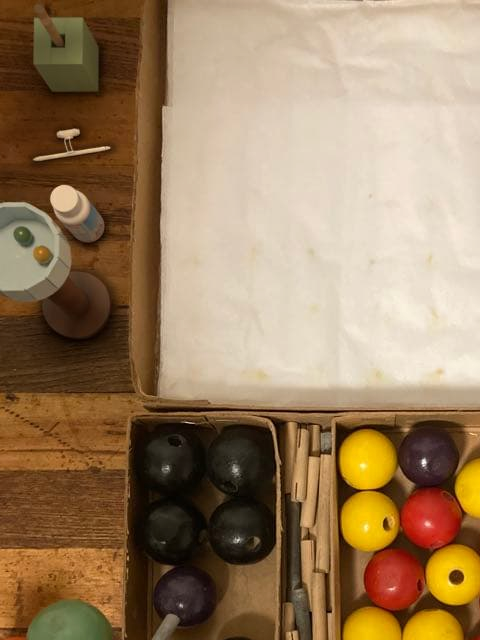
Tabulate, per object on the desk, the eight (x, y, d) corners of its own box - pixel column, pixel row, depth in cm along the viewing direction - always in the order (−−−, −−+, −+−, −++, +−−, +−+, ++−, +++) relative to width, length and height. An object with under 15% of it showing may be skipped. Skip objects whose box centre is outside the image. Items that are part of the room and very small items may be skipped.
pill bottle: (92, 204, 151) (68, 173, 140) (112, 231, 151) (89, 201, 140) (64, 223, 151) (38, 193, 140) (84, 250, 151) (59, 222, 140)
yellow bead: (37, 266, 129) (29, 259, 126) (37, 249, 129) (30, 242, 126) (54, 266, 129) (47, 259, 126) (54, 249, 129) (47, 242, 126)
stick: (70, 73, 153) (33, 13, 137) (71, 65, 153) (33, 3, 137) (79, 73, 153) (43, 13, 137) (79, 65, 153) (43, 3, 137)
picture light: (34, 162, 152) (29, 156, 150) (31, 139, 152) (25, 133, 150) (111, 150, 152) (107, 144, 150) (107, 127, 152) (103, 121, 150)
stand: (51, 91, 153) (33, 64, 145) (52, 47, 153) (33, 17, 145) (98, 91, 153) (82, 64, 145) (98, 47, 153) (82, 17, 145)
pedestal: (44, 339, 150) (-13, 298, 129) (45, 273, 150) (-11, 221, 129) (112, 338, 150) (66, 297, 129) (112, 273, 151) (67, 221, 130)
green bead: (17, 247, 129) (10, 240, 126) (18, 230, 129) (10, 223, 126) (34, 247, 129) (27, 240, 126) (35, 230, 129) (27, 223, 126)
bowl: (-17, 302, 129) (-34, 290, 124) (-16, 217, 130) (-32, 202, 125) (71, 301, 129) (58, 290, 124) (72, 216, 130) (59, 201, 125)
